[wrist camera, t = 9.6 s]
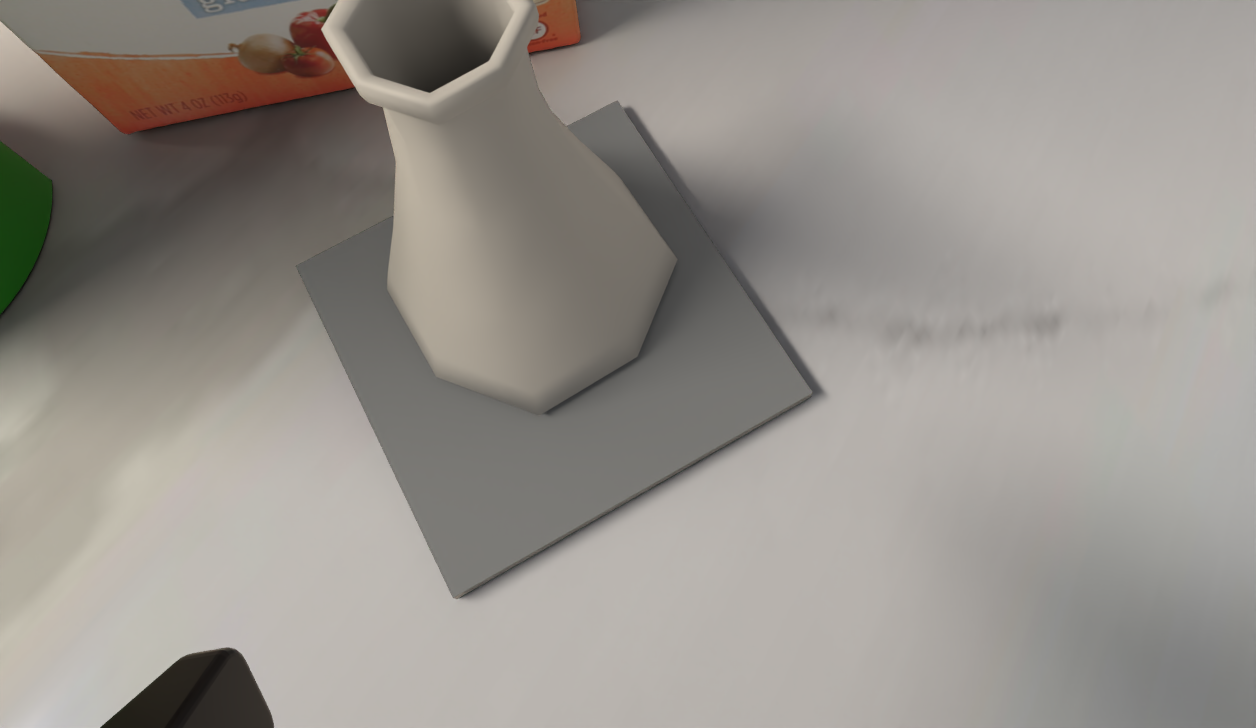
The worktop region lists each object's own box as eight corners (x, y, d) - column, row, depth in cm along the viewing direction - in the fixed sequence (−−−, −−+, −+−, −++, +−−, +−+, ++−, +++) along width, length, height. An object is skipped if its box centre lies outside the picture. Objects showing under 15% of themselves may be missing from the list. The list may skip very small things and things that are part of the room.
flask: (543, 468, 21) (431, 321, 12) (343, 298, 23) (105, 52, 14) (726, 259, 23) (756, -22, 13) (524, 114, 25) (424, -225, 15)
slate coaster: (810, 397, 22) (812, 393, 21) (457, 599, 21) (453, 598, 20) (618, 108, 25) (617, 100, 24) (302, 271, 24) (295, 265, 23)
